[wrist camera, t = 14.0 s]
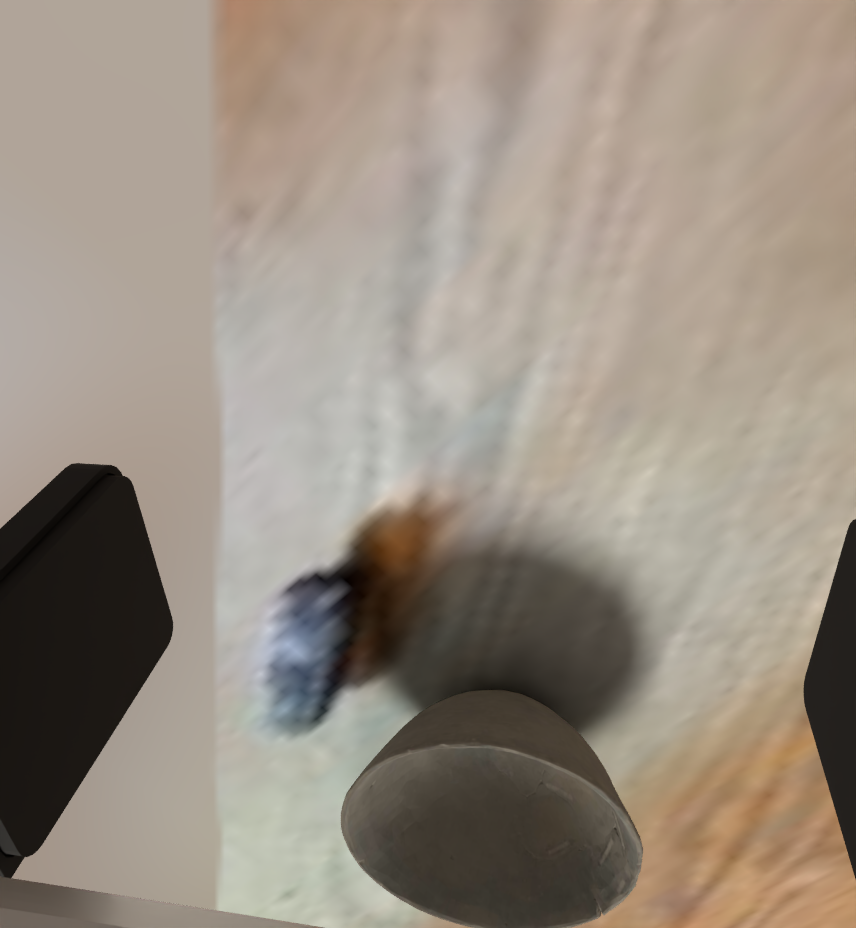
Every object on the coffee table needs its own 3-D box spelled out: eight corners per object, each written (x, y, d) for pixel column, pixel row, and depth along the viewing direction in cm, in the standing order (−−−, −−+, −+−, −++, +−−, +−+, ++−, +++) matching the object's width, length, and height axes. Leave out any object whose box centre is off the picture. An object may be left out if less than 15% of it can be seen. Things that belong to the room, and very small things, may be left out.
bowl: (567, 832, 62) (563, 966, 54) (347, 748, 61) (308, 870, 53) (688, 690, 52) (707, 827, 43) (425, 586, 51) (392, 706, 43)
